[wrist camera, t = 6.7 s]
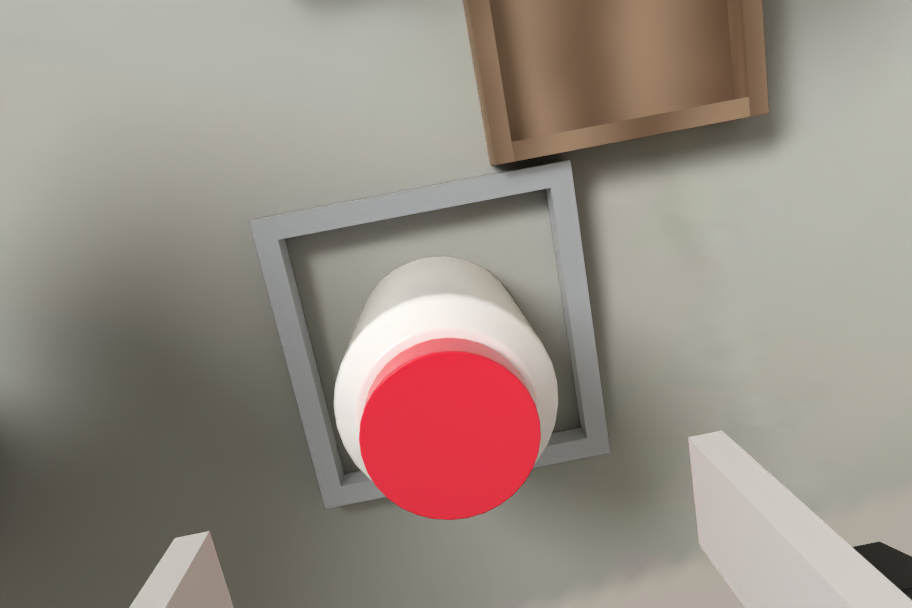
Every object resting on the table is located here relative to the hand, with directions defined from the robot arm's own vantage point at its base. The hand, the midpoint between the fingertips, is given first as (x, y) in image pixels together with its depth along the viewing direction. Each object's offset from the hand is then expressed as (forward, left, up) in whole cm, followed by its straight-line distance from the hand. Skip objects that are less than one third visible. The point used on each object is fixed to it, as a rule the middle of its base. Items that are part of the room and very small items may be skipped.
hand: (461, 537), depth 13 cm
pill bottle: (0, 0, -16) cm, 16 cm away
